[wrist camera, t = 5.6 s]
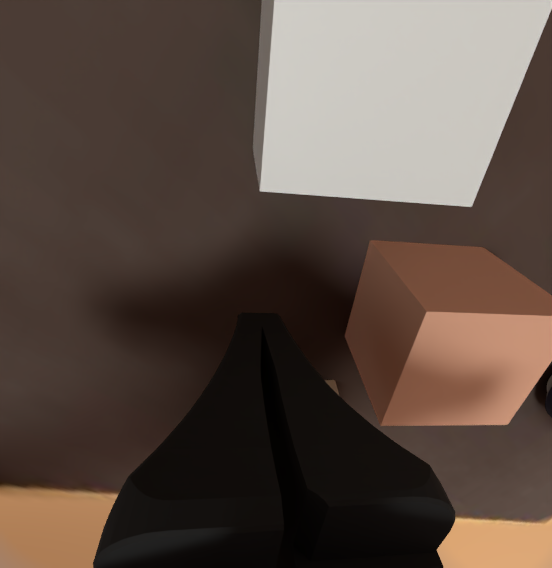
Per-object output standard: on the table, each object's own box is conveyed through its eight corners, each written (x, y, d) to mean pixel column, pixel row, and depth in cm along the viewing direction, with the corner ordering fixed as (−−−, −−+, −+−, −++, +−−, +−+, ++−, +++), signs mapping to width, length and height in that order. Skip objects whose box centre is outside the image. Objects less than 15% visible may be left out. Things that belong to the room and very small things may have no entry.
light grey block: (252, 149, 12) (259, 191, 7) (264, -49, 9) (285, -158, 5) (391, 161, 12) (471, 206, 8) (439, -20, 10) (592, -95, 6)
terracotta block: (343, 335, 16) (380, 426, 12) (369, 239, 14) (426, 311, 10) (440, 337, 17) (507, 424, 13) (482, 246, 14) (582, 317, 10)
